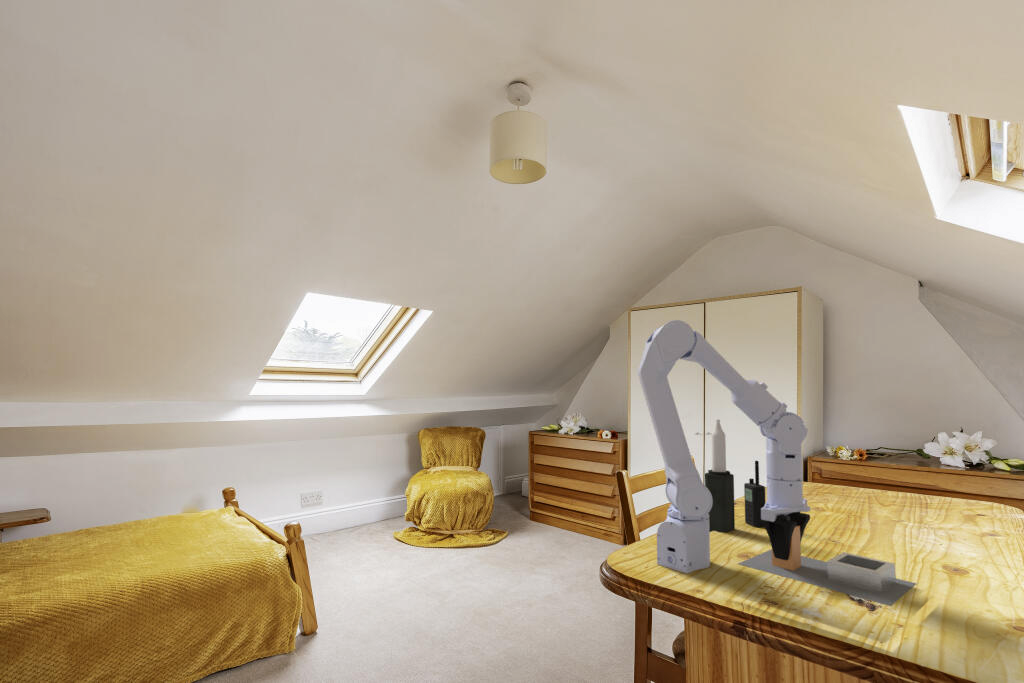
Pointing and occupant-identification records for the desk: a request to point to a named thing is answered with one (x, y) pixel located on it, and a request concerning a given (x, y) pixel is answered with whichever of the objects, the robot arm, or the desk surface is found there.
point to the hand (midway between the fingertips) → (786, 556)
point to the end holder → (861, 572)
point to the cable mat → (826, 578)
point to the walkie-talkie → (754, 499)
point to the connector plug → (791, 552)
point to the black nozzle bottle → (720, 486)
